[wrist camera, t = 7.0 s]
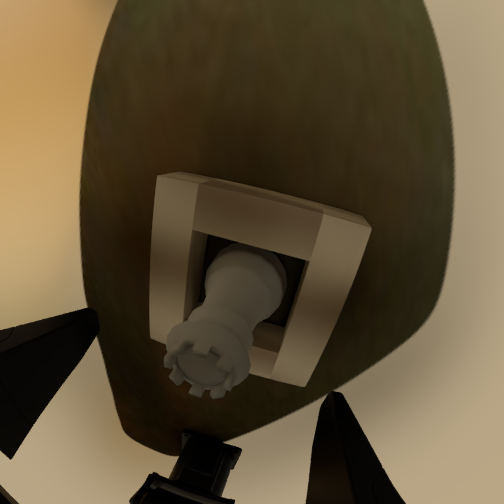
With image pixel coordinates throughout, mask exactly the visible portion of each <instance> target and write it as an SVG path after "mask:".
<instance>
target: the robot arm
mask: <svg viewBox="0 0 504 504" xmlns="http://www.w3.org/2000/svg"><path fill="white" fill-rule="evenodd" d="M99 330H100V324H99V318H98V313H97V311H95V310H93V309H91V308H84V309H81V310H77V311H73V312H69V313H65V314H62V315H58V316H54V317H50V318H46V319H42V320H39V321H35V322H31V323H27V324H24V325H19V326H16V327H11V328H8V329H3V330H0V451H1V452H2V453H4V454H5V455H6V456H7V457H8V458H9V459H10V460H11V459H12V458H13V456H14V455H15V453H16V451H17V450H18V448H19V447H20V445H21V444H22V442H23V440H24V439H25V437H26V436H27V434H28V433H29V431H30V430H31V428H32V427H33V425H34V424H35V422H36V421H37V419H38V418H39V416H40V414H41V413H42V412H43V410H44V409H45V408H46V406H47V405H48V404H49V402H50V401H51V399H52V398H53V397H54V395H55V394H56V392H57V391H58V390H59V388H60V387H61V386H62V384H63V383H64V382H65V380H66V379H67V378H68V376H69V375H70V374H71V372H72V371H73V370H74V369H75V367H76V366H77V365H78V363H79V362H80V361H81V359H82V358H83V356H84V355H85V353H86V352H87V350H88V348H89V347H90V345H91V344H92V342H93V340H94V339H95V337H96V336H97V334H98V333H99ZM241 452H242V449H241V448H239V447H236V446H232V445H228V444H225V443H222V442H219V441H216V440H213V439H210V438H207V437H204V436H201V435H198V434H195V433H193V432H190V431H187V430H184V431H183V432H182V452H181V454H180V456H179V458H178V460H177V462H176V464H175V466H174V468H173V470H172V472H171V474H170V476H169V478H165V477H163V476H160V475H159V474H158V473H155V472H153V473H152V474H149V475H148V477H147V479H146V481H145V483H144V484H143V485H142V487H141V488H140V489H139V490H138V491H137V492H136V493H135V494H134V495H133V496H132V497H131V499H130V500H129V502H130V504H234V503H235V500H233V499H227V498H223V497H221V496H222V493H223V490H224V487H225V485H226V482H227V479H228V476H229V473H230V470H231V469H234V467H235V465H236V463H237V461H238V459H239V456H240V454H241ZM0 504H19V503H18V502H17V501H16V500H15V499H14V498H13V497H12V496H10V494H9V493H8V492H7V491H6V490H5V489H4V488H3V487H2V486H1V485H0ZM306 504H406V503H405V502H404V501H403V499H402V498H401V496H400V495H399V493H398V492H397V490H396V489H395V487H394V486H393V484H392V482H391V481H390V479H389V477H388V476H387V474H386V472H385V470H384V469H383V468H382V465H381V463H380V461H379V459H378V457H377V455H376V454H375V452H374V450H373V448H372V446H371V444H370V443H369V441H368V439H367V437H366V435H365V434H364V432H363V430H362V428H361V427H360V424H359V423H358V421H357V419H356V417H355V415H354V414H353V412H352V410H351V408H350V407H349V405H348V403H347V401H346V399H345V397H344V396H343V394H342V393H340V392H335V391H330V392H329V394H328V395H327V397H326V398H325V400H324V402H323V403H322V405H321V407H320V411H319V416H318V421H317V426H316V431H315V436H314V440H313V445H312V454H311V464H310V473H309V482H308V490H307V497H306Z"/></svg>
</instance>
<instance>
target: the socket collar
mask: <svg viewBox="0 0 504 504" xmlns="http://www.w3.org/2000/svg"><path fill="white" fill-rule="evenodd" d="M371 230H372V228H371V226H370V225H369V224H368V222H367V221H366V220H365V219H364V217H363V216H362V215H359V214H355V213H352V212H349V211H345V210H342V209H338V208H335V207H331V206H328V205H324V204H321V203H317V202H313V201H310V200H306V199H302V198H298V197H295V196H291V195H287V194H283V193H279V192H275V191H271V190H266V189H262V188H258V187H254V186H249V185H245V184H240V183H236V182H231V181H227V180H222V179H217V178H212V177H207V176H202V175H197V174H192V173H186V172H181V171H180V172H175V173H169V174H164V175H159V176H157V182H156V191H155V201H154V211H153V223H152V238H151V257H150V338H152V339H154V340H156V341H159V342H161V343H164V344H166V343H167V335H168V334H169V332H170V331H171V329H172V328H173V326H176V325H178V324H180V323H182V322H185V321H188V317H189V316H190V314H191V313H192V311H193V310H194V309H196V308H198V307H200V306H202V305H203V303H201V302H199V297H200V289H201V281H202V273H203V266H204V258H205V251H206V244H207V237H208V234H210V235H214V236H218V237H222V238H225V239H229V240H233V241H237V242H240V243H244V244H248V245H251V246H255V247H259V248H263V249H266V250H270V251H274V252H278V253H281V254H285V255H289V256H292V257H296V258H300V259H303V260H306V262H305V265H304V268H303V271H302V275H301V278H300V281H299V284H298V288H297V291H296V294H295V297H294V300H293V303H292V306H291V309H290V312H289V315H288V318H287V321H286V324H285V327H281V326H278V325H274V324H270V323H267V322H263V321H261V322H259V323H257V325H256V326H255V328H254V329H253V331H252V334H253V339H254V340H253V343H252V347H251V349H250V350H249V351H248V356H249V360H250V364H251V367H250V370H249V373H251V374H254V375H258V376H261V377H265V378H269V379H273V380H277V381H280V382H284V383H289V384H293V385H297V386H302V387H305V386H306V384H307V382H308V380H309V378H310V376H311V374H312V372H313V371H314V369H315V367H316V365H317V363H318V361H319V358H320V356H321V354H322V352H323V350H324V348H325V346H326V344H327V342H328V340H329V337H330V335H331V333H332V331H333V329H334V326H335V324H336V322H337V319H338V317H339V315H340V313H341V310H342V308H343V305H344V303H345V301H346V298H347V296H348V293H349V291H350V288H351V286H352V283H353V280H354V278H355V275H356V273H357V270H358V267H359V264H360V262H361V259H362V256H363V253H364V250H365V248H366V245H367V242H368V239H369V236H370V233H371Z"/></svg>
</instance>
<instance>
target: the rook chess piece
mask: <svg viewBox="0 0 504 504" xmlns="http://www.w3.org/2000/svg"><path fill="white" fill-rule="evenodd" d="M286 288H287V278H286V271H285V269H284V267H283V265H282V264H281V262H280V260H279V259H278V257H277V256H276V255H274V254H273V253H272V252H270V251H269V250H266V249H263V248H259V247H255V246H251V245H248V244H244V243H235V244H231V245H229V246H228V247H226V248H224V249H222V250H221V251H219V253H218V254H217V256H216V257H215V258H214V260H213V261H212V263H211V265H210V266H209V267H208V269H207V273H206V280H205V290H206V298H205V300H204V303H203V305H202V306H200V307H198V308H196V309H194V310H193V311H192V313H191V314H190V316H189V317H188V321H185V322H182V323H180V324H178V325H176V326H173V328H172V329H171V331H170V332H169V334H168V335H167V343H166V349H167V352H168V353H167V354H166V356H165V357H164V367H166V368H170V369H171V368H172V367H173V368H174V369H173V371H172V372H171V374H170V375H169V378H170V379H171V380H172V381H173V382H174V383H175V384H176V385H177V386H178V385H180V384H181V383H182V382H183V380H184V379H185V380H186V381H188V382H189V383H191V384H192V387H191V389H190V391H189V394H192V395H194V396H197V397H200V398H201V396H202V394H203V392H204V390H205V389H206V390H211V392H210V396H211V397H212V398H213V399H217V398H222V397H224V395H225V392H226V390H228V391H231V390H232V387H233V386H235V385H238V384H239V383H241V382H242V381H243V380H244V379H246V378H247V377H248V374H249V370H250V367H251V364H250V360H249V356H248V351H249V350H250V349H251V347H252V343H253V340H254V339H253V334H252V331H253V329H254V328H255V326H256V325H257V323H259V322H261V321H262V320H264V319H267V318H269V317H270V316H271V315H272V313H273V312H274V311H275V310H276V309H277V308H278V307H279V306H280V305H281V301H282V299H283V297H284V294H285V291H286Z"/></svg>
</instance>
